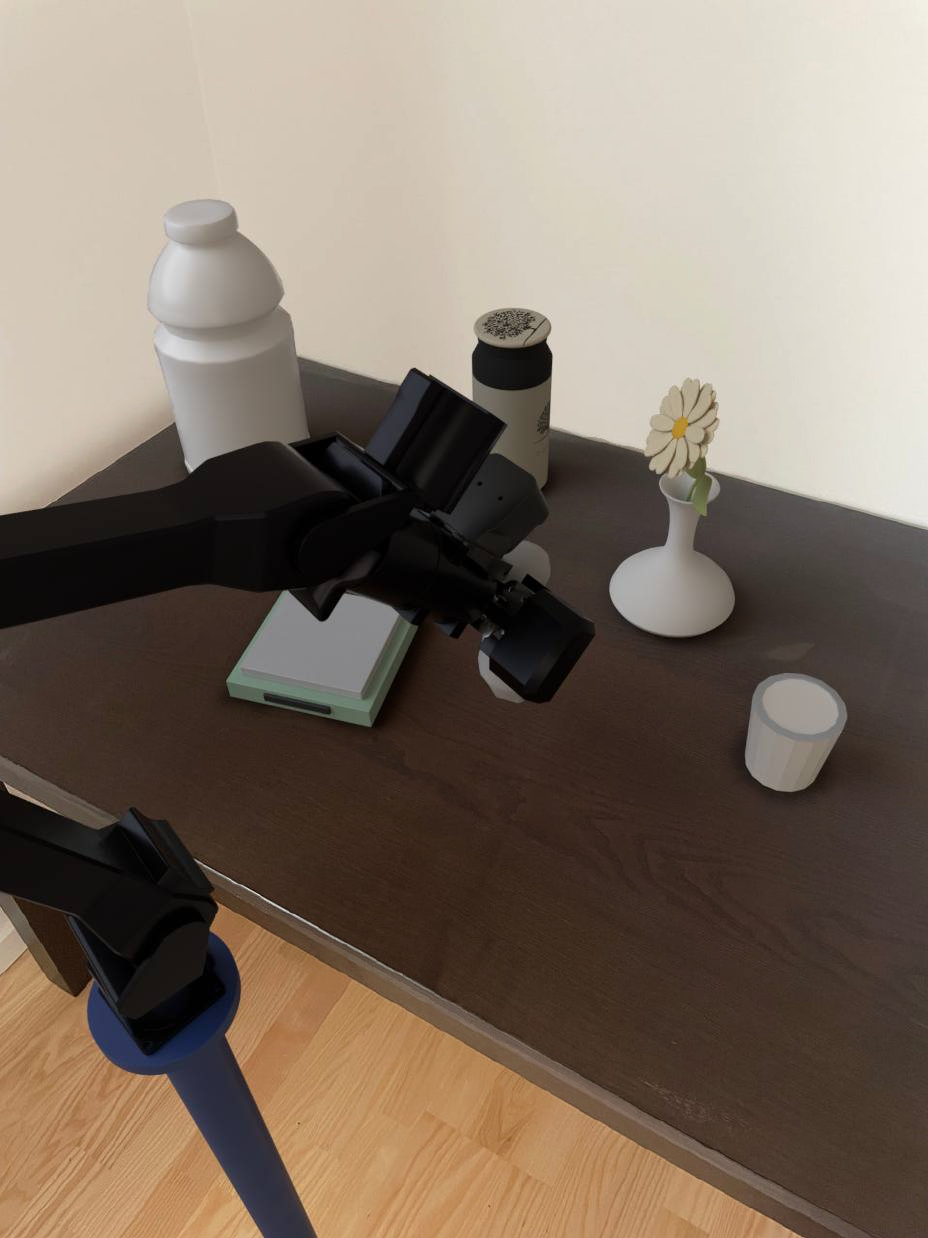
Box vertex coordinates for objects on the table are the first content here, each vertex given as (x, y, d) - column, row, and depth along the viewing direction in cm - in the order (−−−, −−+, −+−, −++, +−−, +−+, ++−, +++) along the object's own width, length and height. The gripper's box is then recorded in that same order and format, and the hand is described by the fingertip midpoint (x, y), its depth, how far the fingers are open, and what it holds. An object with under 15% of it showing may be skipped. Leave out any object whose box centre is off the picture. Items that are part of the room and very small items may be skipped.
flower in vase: (613, 559, 96) (640, 323, 78) (732, 572, 94) (785, 334, 76) (600, 652, 87) (626, 409, 69) (730, 670, 85) (791, 424, 67)
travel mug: (459, 484, 105) (454, 330, 93) (500, 449, 110) (500, 298, 97) (522, 509, 102) (525, 353, 89) (560, 472, 106) (569, 318, 94)
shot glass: (828, 741, 79) (850, 683, 74) (822, 808, 74) (845, 751, 69) (742, 721, 80) (758, 663, 76) (731, 785, 76) (747, 728, 71)
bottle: (268, 415, 116) (223, 172, 97) (338, 463, 109) (304, 209, 89) (164, 463, 109) (93, 211, 90) (231, 517, 102) (170, 256, 82)
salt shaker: (567, 693, 74) (579, 563, 65) (504, 722, 72) (507, 593, 63) (526, 646, 78) (531, 518, 69) (464, 673, 76) (462, 544, 67)
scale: (370, 730, 81) (366, 706, 79) (228, 699, 84) (221, 675, 81) (420, 622, 90) (418, 598, 88) (291, 597, 93) (286, 574, 91)
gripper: (584, 521, 52) (692, 587, 65) (382, 384, 63) (508, 464, 75) (471, 690, 54) (597, 722, 66) (293, 529, 64) (431, 583, 77)
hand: (531, 613), depth 71 cm, fingers closed on salt shaker, 3 cm apart
